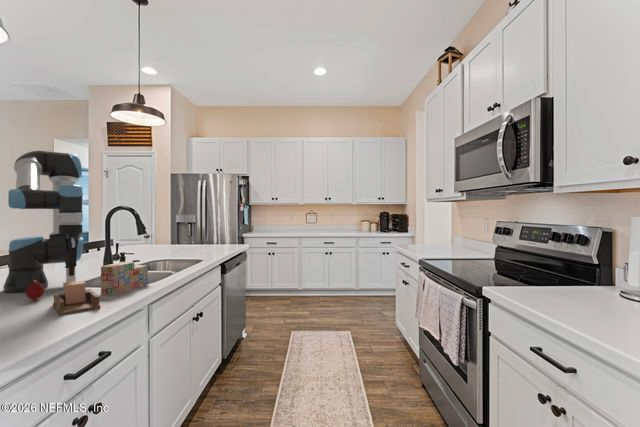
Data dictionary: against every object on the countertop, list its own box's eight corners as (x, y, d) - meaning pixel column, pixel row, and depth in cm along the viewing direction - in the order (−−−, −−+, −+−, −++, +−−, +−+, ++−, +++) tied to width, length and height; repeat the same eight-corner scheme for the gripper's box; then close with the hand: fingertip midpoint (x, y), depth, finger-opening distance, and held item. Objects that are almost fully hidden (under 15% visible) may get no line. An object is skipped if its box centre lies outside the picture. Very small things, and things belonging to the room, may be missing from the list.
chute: (52, 305, 124) (52, 293, 124) (90, 299, 133) (91, 288, 133) (58, 315, 113) (58, 302, 113) (100, 308, 121) (100, 296, 121)
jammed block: (63, 301, 126) (63, 282, 126) (82, 298, 130) (82, 280, 130) (65, 304, 121) (65, 285, 121) (85, 301, 126) (85, 283, 126)
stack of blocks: (136, 283, 163) (136, 258, 162) (148, 284, 161) (148, 259, 161) (100, 294, 142) (100, 265, 141) (113, 295, 140) (113, 266, 140)
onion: (47, 299, 133) (47, 279, 133) (30, 303, 128) (30, 282, 127) (39, 297, 135) (39, 278, 135) (22, 301, 130) (22, 280, 130)
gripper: (56, 223, 133) (56, 282, 133) (61, 224, 124) (61, 287, 124) (79, 223, 138) (79, 280, 138) (85, 224, 129) (85, 284, 129)
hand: (70, 283), depth 131 cm, fingers closed
